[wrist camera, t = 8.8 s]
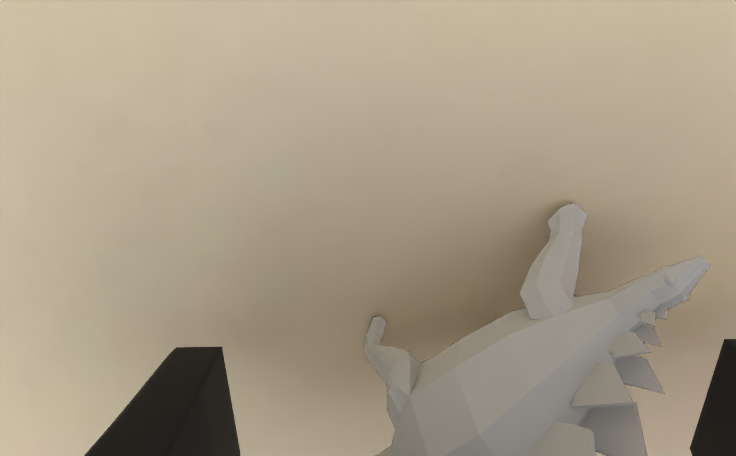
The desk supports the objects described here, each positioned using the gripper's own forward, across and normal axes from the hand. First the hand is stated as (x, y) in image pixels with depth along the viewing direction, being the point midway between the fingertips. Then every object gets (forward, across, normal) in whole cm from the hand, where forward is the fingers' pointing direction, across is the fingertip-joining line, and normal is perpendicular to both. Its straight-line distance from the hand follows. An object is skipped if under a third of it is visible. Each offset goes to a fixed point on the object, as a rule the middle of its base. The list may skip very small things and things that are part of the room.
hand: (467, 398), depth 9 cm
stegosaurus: (+2, 0, 0) cm, 2 cm away
